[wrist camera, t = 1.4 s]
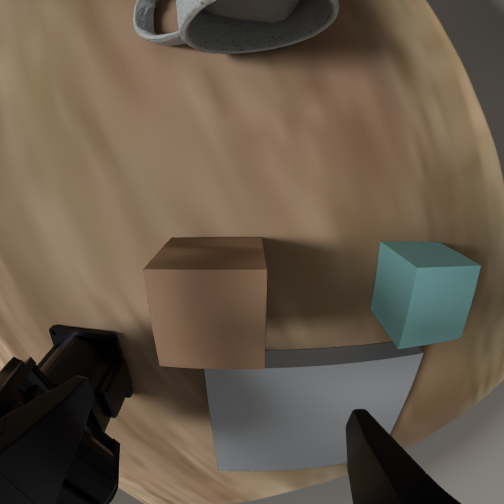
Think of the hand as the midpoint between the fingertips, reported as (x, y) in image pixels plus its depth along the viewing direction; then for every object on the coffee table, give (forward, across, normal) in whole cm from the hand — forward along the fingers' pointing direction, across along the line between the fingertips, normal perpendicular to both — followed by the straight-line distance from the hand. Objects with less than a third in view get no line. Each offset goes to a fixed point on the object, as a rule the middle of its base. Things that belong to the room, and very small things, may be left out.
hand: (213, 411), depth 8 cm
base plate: (+11, -6, +13) cm, 18 cm away
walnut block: (+11, +2, +1) cm, 11 cm away
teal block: (+12, -11, 0) cm, 16 cm away
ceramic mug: (+12, +2, -17) cm, 21 cm away
